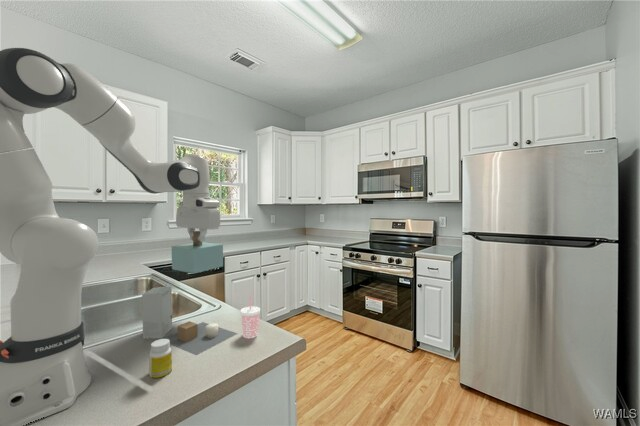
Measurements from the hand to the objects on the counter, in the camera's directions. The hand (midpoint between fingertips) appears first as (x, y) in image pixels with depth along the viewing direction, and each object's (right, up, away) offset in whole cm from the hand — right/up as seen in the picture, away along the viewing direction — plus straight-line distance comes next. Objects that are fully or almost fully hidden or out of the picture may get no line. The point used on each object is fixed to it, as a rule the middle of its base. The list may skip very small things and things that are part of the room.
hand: (197, 240), depth 99 cm
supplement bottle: (+5, -30, -31) cm, 43 cm away
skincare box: (-8, -30, -10) cm, 32 cm away
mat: (+6, -30, -12) cm, 33 cm away
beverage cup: (+21, -30, -11) cm, 38 cm away
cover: (0, -10, 0) cm, 10 cm away
